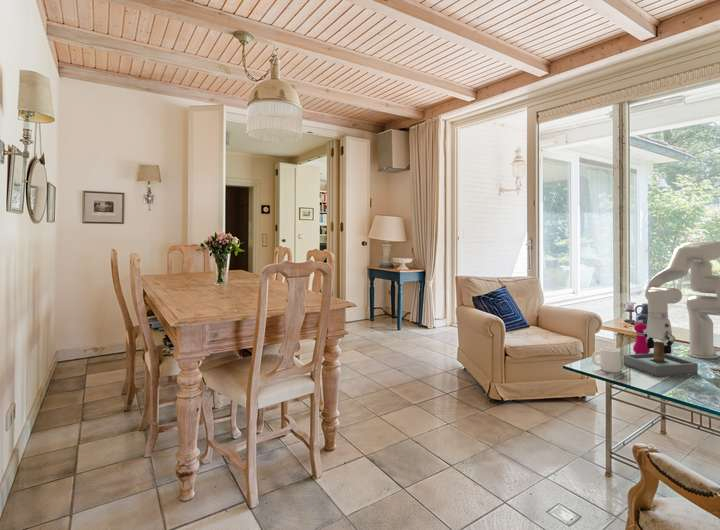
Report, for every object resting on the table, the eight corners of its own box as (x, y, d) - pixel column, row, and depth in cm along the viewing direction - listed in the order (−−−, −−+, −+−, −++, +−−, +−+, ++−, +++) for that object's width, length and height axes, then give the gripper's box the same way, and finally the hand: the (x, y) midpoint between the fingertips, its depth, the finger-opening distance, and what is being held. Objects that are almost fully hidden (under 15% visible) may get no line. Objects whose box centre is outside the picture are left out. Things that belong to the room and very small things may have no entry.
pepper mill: (652, 359, 205) (652, 321, 205) (637, 359, 207) (636, 321, 206) (645, 355, 212) (645, 318, 212) (630, 355, 214) (629, 319, 213)
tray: (661, 362, 201) (660, 352, 201) (697, 374, 181) (697, 363, 181) (623, 364, 199) (623, 355, 199) (656, 377, 180) (656, 366, 179)
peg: (659, 365, 192) (659, 341, 192) (666, 368, 188) (666, 343, 188) (651, 366, 192) (651, 341, 191) (658, 368, 188) (658, 343, 187)
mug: (591, 370, 194) (590, 349, 193) (592, 365, 200) (592, 345, 200) (620, 374, 187) (619, 352, 186) (621, 369, 193) (620, 348, 193)
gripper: (681, 318, 181) (682, 355, 182) (650, 312, 198) (651, 345, 199) (665, 319, 180) (666, 356, 181) (636, 313, 198) (637, 347, 198)
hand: (658, 350), depth 190 cm, fingers open, 9 cm apart
